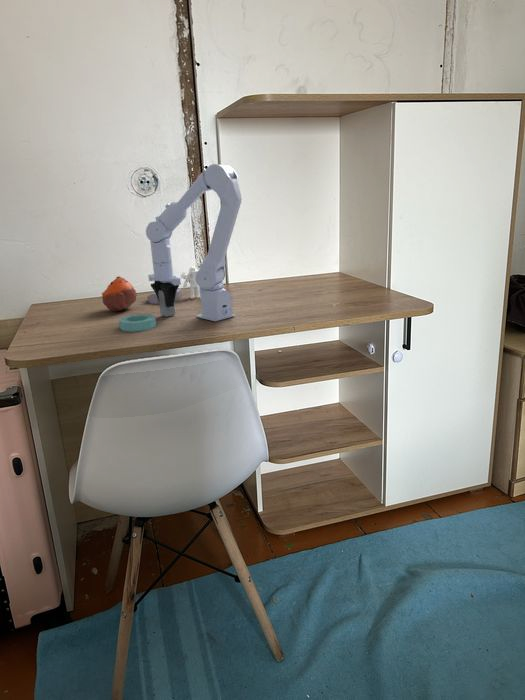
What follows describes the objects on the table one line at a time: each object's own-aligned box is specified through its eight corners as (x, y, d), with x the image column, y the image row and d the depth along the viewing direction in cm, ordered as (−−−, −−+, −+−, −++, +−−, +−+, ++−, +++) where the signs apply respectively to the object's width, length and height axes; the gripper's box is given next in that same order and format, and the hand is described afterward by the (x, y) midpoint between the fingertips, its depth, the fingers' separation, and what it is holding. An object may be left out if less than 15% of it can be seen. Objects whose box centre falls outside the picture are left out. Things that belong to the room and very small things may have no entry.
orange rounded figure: (126, 315, 172) (122, 279, 169) (97, 314, 175) (92, 279, 172) (143, 306, 184) (139, 272, 180) (115, 306, 186) (111, 273, 183)
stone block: (147, 309, 188) (173, 303, 185) (143, 295, 187) (169, 289, 184) (159, 302, 199) (184, 297, 197) (156, 290, 198) (181, 284, 195)
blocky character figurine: (207, 295, 196) (204, 262, 192) (208, 297, 192) (205, 263, 188) (182, 297, 194) (179, 264, 191) (183, 299, 191) (179, 265, 187)
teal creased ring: (162, 325, 157) (161, 317, 156) (132, 333, 151) (131, 324, 150) (144, 320, 164) (143, 312, 163) (114, 327, 158) (113, 319, 157)
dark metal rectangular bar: (175, 314, 168) (172, 289, 166) (166, 316, 166) (163, 291, 164) (169, 313, 171) (166, 288, 168) (160, 315, 169) (157, 290, 166)
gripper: (138, 262, 166) (143, 305, 170) (164, 265, 156) (169, 311, 160) (157, 259, 170) (162, 301, 175) (184, 262, 160) (188, 306, 164)
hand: (166, 305), depth 168 cm, fingers closed on dark metal rectangular bar, 3 cm apart
